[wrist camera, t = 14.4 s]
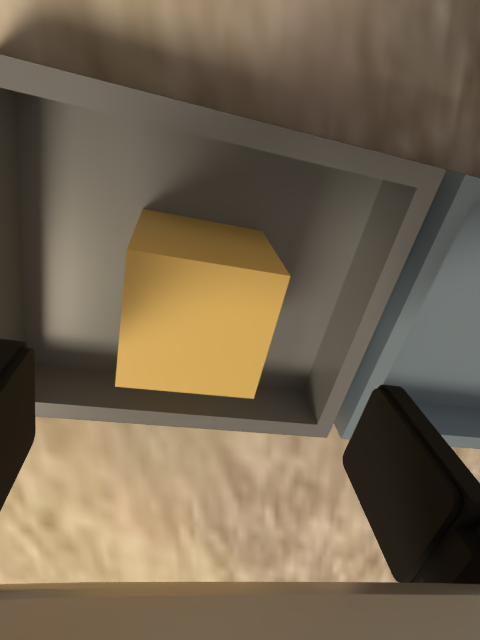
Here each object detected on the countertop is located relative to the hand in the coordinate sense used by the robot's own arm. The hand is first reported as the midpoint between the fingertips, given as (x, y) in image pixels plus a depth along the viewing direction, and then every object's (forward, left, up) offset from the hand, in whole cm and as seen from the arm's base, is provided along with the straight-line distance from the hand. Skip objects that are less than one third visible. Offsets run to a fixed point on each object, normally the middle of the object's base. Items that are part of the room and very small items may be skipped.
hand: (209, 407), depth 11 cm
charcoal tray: (+1, 0, -8) cm, 8 cm away
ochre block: (+1, 0, -8) cm, 8 cm away
